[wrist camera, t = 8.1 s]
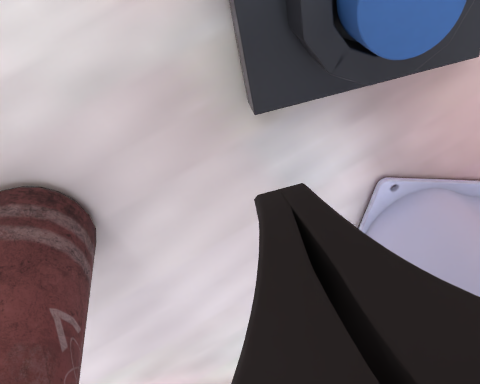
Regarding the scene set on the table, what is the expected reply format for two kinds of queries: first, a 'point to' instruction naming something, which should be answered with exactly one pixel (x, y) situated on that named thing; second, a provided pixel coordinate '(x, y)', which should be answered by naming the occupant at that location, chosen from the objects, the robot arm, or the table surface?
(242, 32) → the button base
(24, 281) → the can
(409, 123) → the table surface
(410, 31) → the blue button cap
